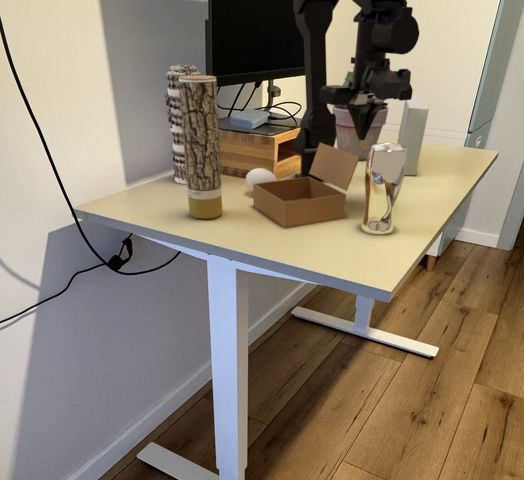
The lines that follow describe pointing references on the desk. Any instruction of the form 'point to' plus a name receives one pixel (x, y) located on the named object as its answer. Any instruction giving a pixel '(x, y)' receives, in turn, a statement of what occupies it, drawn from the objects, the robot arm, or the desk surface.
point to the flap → (334, 166)
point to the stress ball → (259, 177)
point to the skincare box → (413, 131)
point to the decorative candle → (177, 116)
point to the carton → (298, 201)
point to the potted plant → (346, 129)
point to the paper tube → (201, 144)
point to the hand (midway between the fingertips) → (361, 140)
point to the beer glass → (382, 185)
